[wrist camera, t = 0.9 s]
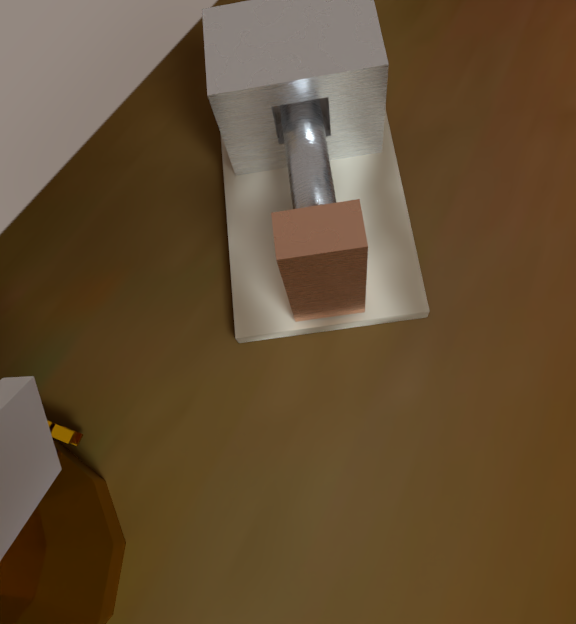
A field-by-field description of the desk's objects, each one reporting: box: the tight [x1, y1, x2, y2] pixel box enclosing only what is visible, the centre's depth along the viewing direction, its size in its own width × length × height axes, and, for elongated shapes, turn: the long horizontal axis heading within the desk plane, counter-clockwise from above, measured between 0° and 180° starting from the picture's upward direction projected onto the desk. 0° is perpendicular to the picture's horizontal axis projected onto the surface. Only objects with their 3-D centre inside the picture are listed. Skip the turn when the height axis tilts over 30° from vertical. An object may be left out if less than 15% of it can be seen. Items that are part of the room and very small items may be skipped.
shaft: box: [271, 99, 368, 322], centre depth 36 cm, size 5×18×10 cm, turn 6°
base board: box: [221, 110, 429, 343], centre depth 43 cm, size 14×23×1 cm, turn 6°
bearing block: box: [202, 0, 388, 176], centre depth 40 cm, size 12×8×9 cm, turn 96°
